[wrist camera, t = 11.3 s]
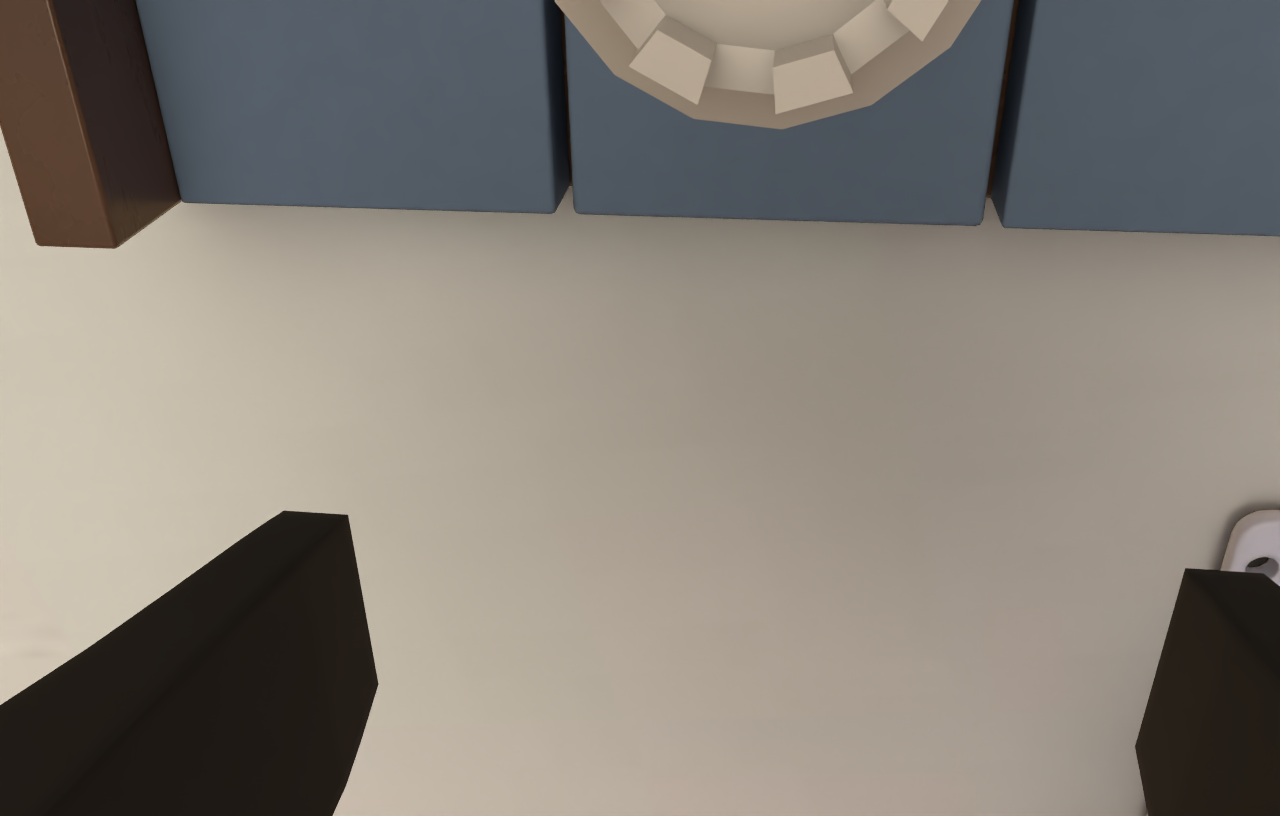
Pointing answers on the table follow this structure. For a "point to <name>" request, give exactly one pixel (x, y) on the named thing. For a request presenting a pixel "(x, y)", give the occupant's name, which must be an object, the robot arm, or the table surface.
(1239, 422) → the table surface
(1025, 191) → the wooden desk tray
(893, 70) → the rook chess piece
